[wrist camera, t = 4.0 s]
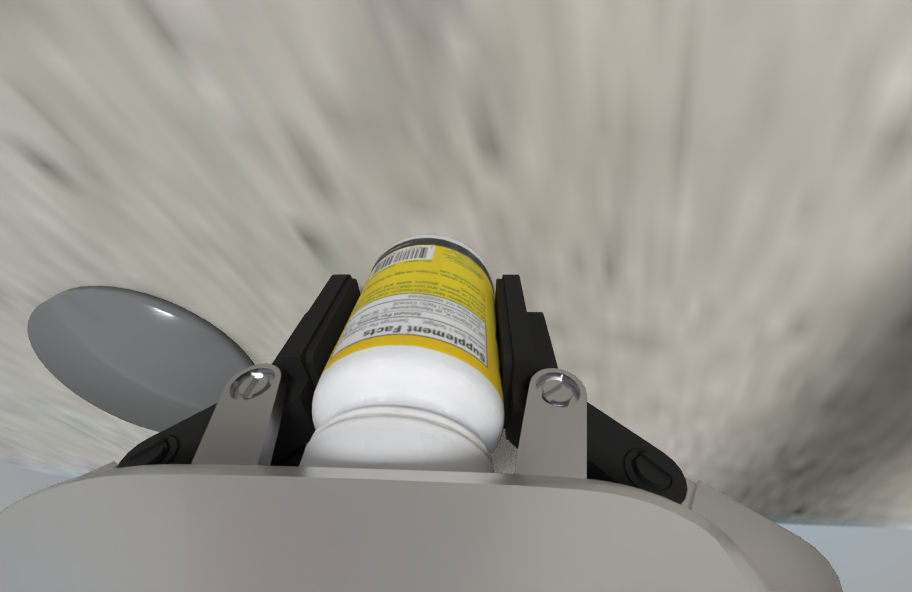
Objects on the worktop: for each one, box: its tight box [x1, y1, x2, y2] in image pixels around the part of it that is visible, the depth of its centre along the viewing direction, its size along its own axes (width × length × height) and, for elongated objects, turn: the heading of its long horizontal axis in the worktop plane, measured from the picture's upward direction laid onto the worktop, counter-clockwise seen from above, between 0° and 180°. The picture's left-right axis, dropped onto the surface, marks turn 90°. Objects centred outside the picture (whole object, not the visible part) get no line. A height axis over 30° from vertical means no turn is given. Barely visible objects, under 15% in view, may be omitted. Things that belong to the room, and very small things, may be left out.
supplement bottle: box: [299, 235, 504, 473], centre depth 10 cm, size 5×5×8 cm
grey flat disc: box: [28, 286, 254, 432], centre depth 17 cm, size 10×10×1 cm
